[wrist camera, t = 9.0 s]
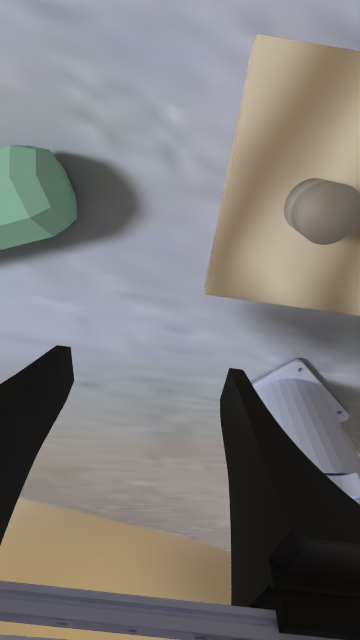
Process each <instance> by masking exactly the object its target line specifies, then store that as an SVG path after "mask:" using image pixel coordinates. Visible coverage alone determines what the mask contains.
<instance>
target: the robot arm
mask: <svg viewBox="0 0 360 640" xmlns="http://www.w3.org/2000/svg"><path fill="white" fill-rule="evenodd" d="M299 368H301V369H299ZM73 382H74V374H73V365H72V355H71V347H66V346H58V345H57V346H55V347H54V348H52V349H51V350H50V351H48V352H47V353H45V354H44V355H43V356H41V357H40V358H38V359H37V360H36V361H34V362H33V363H31V364H30V365H29V366H27V367H26V368H24V369H23V370H21V371H20V372H18V373H17V374H16V375H14V376H12V377H11V378H9V379H8V380H6V381H4V382H3V383H1V384H0V545H1V542H2V539H3V536H4V533H5V531H6V528H7V526H8V523H9V520H10V518H11V515H12V513H13V510H14V507H15V505H16V503H17V500H18V498H19V495H20V493H21V490H22V488H23V486H24V483H25V481H26V478H27V476H28V474H29V471H30V469H31V467H32V464H33V462H34V460H35V458H36V455H37V454H38V452H39V450H40V448H41V446H42V444H43V442H44V440H45V438H46V437H47V435H48V433H49V431H50V429H51V428H52V426H53V424H54V422H55V420H56V419H57V417H58V415H59V413H60V411H61V409H62V408H63V406H64V404H65V402H66V400H67V397H68V395H69V393H70V390H71V387H72V385H73ZM220 417H221V427H222V434H223V441H224V448H225V455H226V462H227V469H228V478H229V496H230V521H231V565H232V566H231V573H232V575H231V578H232V579H231V581H232V600H231V601H232V602H231V605H220V604H211V603H203V602H193V601H184V600H175V599H166V598H156V597H147V596H138V595H128V594H119V593H110V592H100V591H90V590H82V589H73V588H63V587H53V586H45V585H35V584H27V583H17V582H8V581H0V621H6V622H15V623H25V624H35V625H44V626H53V627H64V628H73V629H82V630H92V631H102V632H112V633H121V634H131V635H141V636H150V637H160V638H169V639H180V640H360V458H359V456H358V454H357V452H356V450H355V449H354V447H353V445H352V443H351V441H350V439H349V437H348V435H347V434H346V432H345V430H344V428H343V426H342V424H341V422H344V421H346V420H348V419H349V415H348V413H347V412H346V411H345V409H344V408H343V407H342V406H341V405H340V404H339V402H338V401H337V400H336V399H335V398H334V397H333V396H332V394H331V393H330V392H329V391H328V390H327V389H326V388H325V386H324V385H323V384H322V383H321V382H320V381H319V380H318V378H317V377H316V376H315V375H314V374H313V373H312V372H311V370H310V369H309V368H308V367H307V366H306V365H305V364H304V362H303V361H302V360H299V359H296V360H294V361H292V362H290V363H288V364H286V365H285V366H283V367H281V368H279V369H277V370H276V371H274V372H272V373H270V374H269V375H267V376H265V377H263V378H261V379H260V380H258V381H256V382H254V383H252V384H251V382H250V381H249V379H248V377H247V376H246V374H245V372H244V371H243V370H240V369H233V368H229V371H228V375H227V378H226V381H225V385H224V388H223V391H222V395H221V398H220ZM0 640H65V639H53V638H39V637H26V636H16V635H0Z"/></svg>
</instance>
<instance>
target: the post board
mask: <svg viewBox="0 0 360 640" xmlns="http://www.w3.org/2000/svg"><path fill="white" fill-rule="evenodd" d="M205 294H206V295H213V296H220V297H227V298H234V299H242V300H249V301H256V302H263V303H270V304H278V305H285V306H292V307H299V308H306V309H314V310H321V311H328V312H335V313H342V314H349V315H357V316H360V51H355V50H349V49H343V48H337V47H331V46H325V45H319V44H313V43H307V42H301V41H295V40H289V39H283V38H277V37H271V36H265V35H259V34H258V35H257V37H256V38H255V40H254V42H253V44H252V47H251V52H250V57H249V62H248V67H247V73H246V78H245V83H244V88H243V93H242V98H241V103H240V108H239V114H238V119H237V124H236V129H235V134H234V139H233V144H232V149H231V154H230V160H229V165H228V170H227V175H226V180H225V185H224V190H223V195H222V200H221V206H220V211H219V216H218V221H217V226H216V231H215V236H214V241H213V247H212V252H211V257H210V262H209V267H208V272H207V277H206V282H205Z"/></svg>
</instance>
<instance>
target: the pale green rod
mask: <svg viewBox="0 0 360 640" xmlns="http://www.w3.org/2000/svg"><path fill="white" fill-rule="evenodd" d="M76 219H77V202H76V196H75V193H74V191H73V188H72V186H71V183H70V181H69V178H68V176H67V173H66V171H65V169H64V168H63V167H62V166H61V164H60V163H59V162H58V160H57V159H56V158H55V157H54V155H53V154H52V153H51V152H50V150H48V149H43V148H37V147H32V146H21V145H8V146H5V147H2V148H0V250H3V249H7V248H11V247H15V246H19V245H22V244H26V243H30V242H34V241H38V240H42V239H46V238H50V237H54V236H55V235H57V234H59V233H60V232H62V231H63V230H65V229H66V228H68V227H69V226H70V225H71V224H72V223H73V222H74V221H75V220H76Z"/></svg>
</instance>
